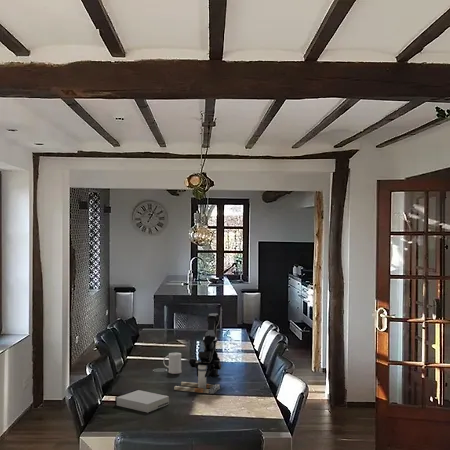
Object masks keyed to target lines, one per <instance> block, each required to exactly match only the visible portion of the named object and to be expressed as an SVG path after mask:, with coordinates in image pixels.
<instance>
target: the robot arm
mask: <svg viewBox="0 0 450 450" xmlns="http://www.w3.org/2000/svg"><path fill="white" fill-rule="evenodd" d="M220 321H221V315H219V313H208V314H207V315H206V322H207V325H208V326H207V331H206V332H205V334H204V336H203V339H202V344H203V347H204V350H203V351H199V353H198V358H199V360H198V359H197V358H192V357H191V358H190V359H188V364H189V365H190V367H191V368H195V370H196V377H197V378H198V366H199V365H206V368H207V370H206V374H205V377H206V378H207V377H210V378H213V377H218V376H220V374H219V373H218V372H219V370H222V369H221V368H222V364H221V359H220V357H219V355H218V351H217V342H218V337H217V328H218V326H219V324H220Z"/></svg>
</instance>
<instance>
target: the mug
mask: <svg viewBox="0 0 450 450" xmlns="http://www.w3.org/2000/svg"><path fill="white" fill-rule="evenodd" d="M167 358H168V365H166V364H165V360H166V359H167ZM163 365H164V367H165V368H168V372H167V373H169V374H172V375H174V374H182V353H181V352H169V353H168V355H166V356H165V357H164V358H163Z"/></svg>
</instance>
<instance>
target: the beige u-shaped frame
mask: <svg viewBox="0 0 450 450" xmlns="http://www.w3.org/2000/svg"><path fill="white" fill-rule="evenodd" d="M220 386H221V385H220V384H218V383H215V384H211V383H206V389H204V388H198V382H188V381H181V382H180V386H179V385H178V386H177V385H175V386H174V388H173V389H174V391H181V392H182V391H183V392H191V393H202V394H215V393H216V392H217V391H219V390H220Z"/></svg>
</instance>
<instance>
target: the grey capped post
mask: <svg viewBox="0 0 450 450" xmlns="http://www.w3.org/2000/svg"><path fill="white" fill-rule="evenodd" d="M206 371H207V366H206V365H199V366H198V377H197V378H198V379H197V383H198V387H197V388H204V389H207V388H206V384H207V377H205V374H206Z"/></svg>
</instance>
